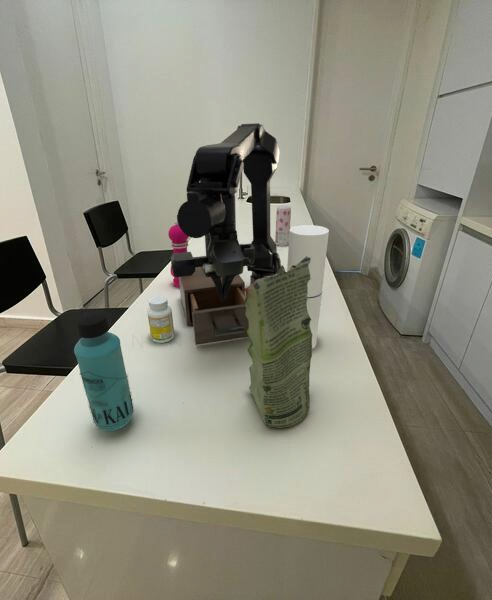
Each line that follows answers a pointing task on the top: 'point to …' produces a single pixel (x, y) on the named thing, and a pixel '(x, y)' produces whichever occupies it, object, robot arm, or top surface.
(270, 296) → the pouch
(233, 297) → the drawer
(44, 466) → the top surface
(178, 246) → the pepper mill
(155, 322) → the supplement bottle
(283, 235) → the beverage can
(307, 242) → the cylindrical container
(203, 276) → the cabinet
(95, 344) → the beverage bottle
